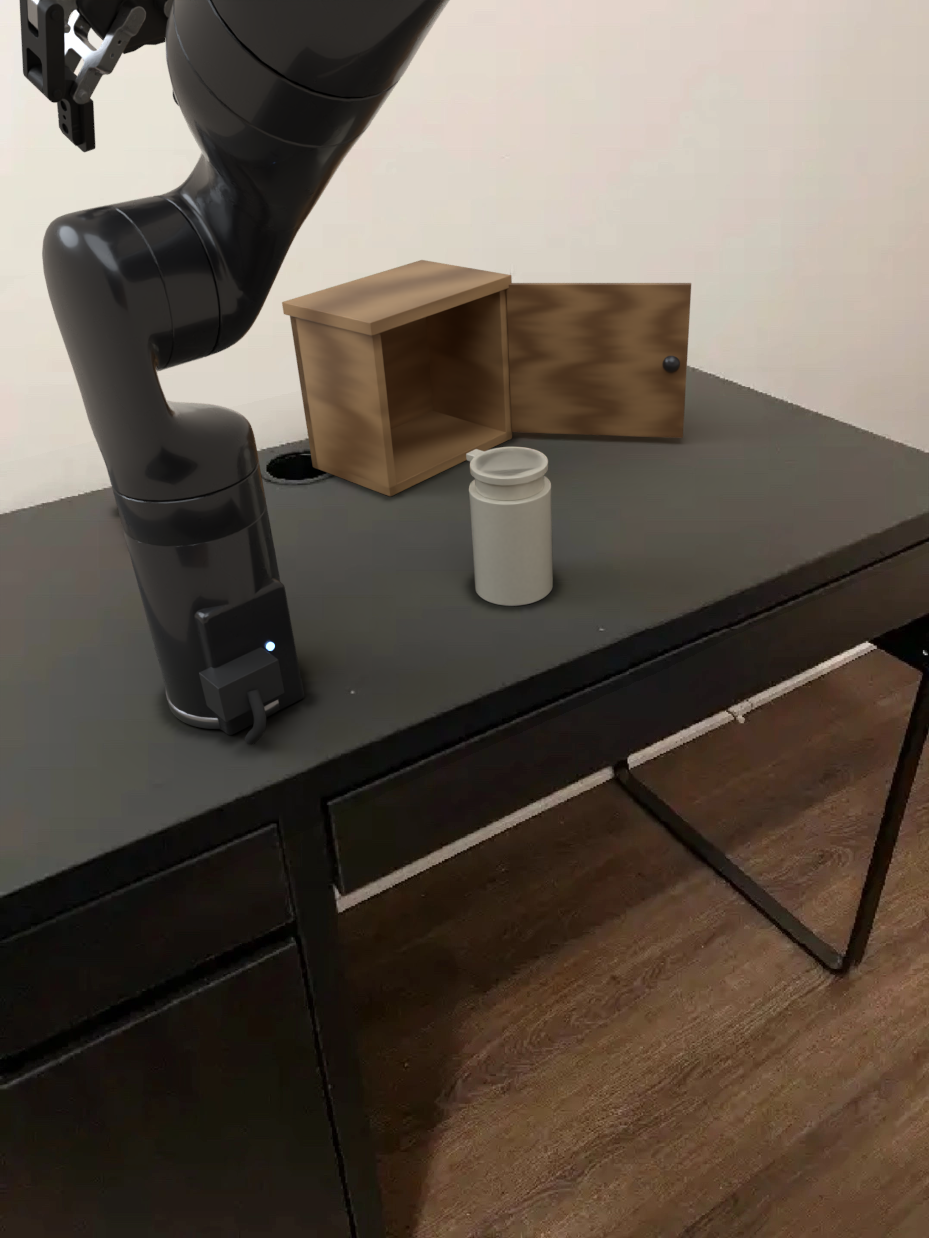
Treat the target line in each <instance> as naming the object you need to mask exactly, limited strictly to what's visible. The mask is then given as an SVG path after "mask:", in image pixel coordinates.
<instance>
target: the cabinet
mask: <svg viewBox="0 0 929 1238" xmlns="http://www.w3.org/2000/svg"><path fill="white" fill-rule="evenodd" d="M512 279H513V278H512V274H508V273H507V274H506V273H501V272H496V271H490V270H484V269H478V268H472V267H466V266H461V265H454V264H450V263H449V264H448V263H443V262H437V261H431V260H425V259H420V260H417V261H413V262H410V263H407V264H403V265H400V266H397V267H394V268H390V269H387V270H383V271H380V272H376V273H373V274H370V275H367V276H364V277H360V278H356V279H353V280H350V281H347V282H344V283H340V284H337V285H334V286H330V287H327V288H324V289H321V290H317V291H314V292H310V293H307V294H304V295H300V296H298V297H295V298H290V299H288V300H283V301H282V302H281V305H282V306H281V307H282V312H283V315H284V316H285V315H286V316H289V320H290V327H291V332H292V333H291V334H292V339H293V346H294V352H295V358H296V359H295V360H296V366H297V372H298V378H299V380H298V381H299V385H300V393H301V399H302V404H303V412H304V413H303V414H304V419H305V425H306V431H307V432H306V433H307V439H308V444H309V452H310V457H311V465H312V468H313V469H316V470H320V471H322V472H325V473H327V474H330V475H332V476H335V477H338V478H341V479H343V480H345V481H348V482H350V483H354V484H355V485H358V486H361V487H364V488H367V489H369V490H372V491H374V492H377V493H380V494H382V495H385V496H388V497H393V496H395V495H397V494H399V493H401V492H403V491H406V490H407V489H409V488H411V487H413V486H415V485H416V486H417V484H420V483H422V482H424V481H426V480H429V479H430V478H432V477H434V476H436V475H438V474H441V473H443V472H444V471H448V470H449V469H451V468H453V467H455V466H457V465H459V464H461V463H464V462H465V461H467V459H466V454H467V453H469V452H471V451H473V450H475V449H478V450H481V451H487V450H490V449H494V448H496V447H497V446H499V445H501V444H503V443H505V442H507V441H509V440H511V439H513V433H527V434H553V435H554V434H555V435H556V434H558V435H581V436H583V435H584V436H585V435H586V436H613V437H614V436H615V437H640V438H641V437H644V438H646V437H647V438H669V439H670V438H671V439H672V438H673V439H683V438H684V425H685V411H686V410H685V408H686V392H687V391H686V388H687V373H688V372H687V370H688V355H689V354H688V353H689V338H690V337H689V336H690V318H691V317H690V316H691V299H692V282H512V281H513V280H512Z"/></svg>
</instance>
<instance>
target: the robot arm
mask: <svg viewBox="0 0 929 1238" xmlns="http://www.w3.org/2000/svg"><path fill="white" fill-rule="evenodd" d="M450 1H451V0H19V17H20V18H19V20H20V35H21V36H20V39H21V56H22V57H21V58H22V60H21V61H22V75H23V77H25V78H26V79H27V80H28V81H29V82H30V83H31V84H32V85H33V87H35V88H36V89H37V90H38V91H39V92H40V93H41V94H42V95H43V96H44V97H45V98H46V99H47V100H48V101H50V102H51V103H53V104H56V107H57V118H58V128H59V130H60V132H61V134H62V135H64V137H66V138H67V139H68V140H69V141H70V142H71V143H72V144H73V145H74V146H75V147H77V148H78V149H79V150H80V151H81V152H83V153H87V152H91V151H93V150H96V128H95V126H96V125H95V107H94V100H93V99H92V98H91V97H92V95H93V93H94V92H95V90H96V88H97V86H98V85H99V83H100V81H101V79H102V78H103V76H109V75H111V74H112V73H113V71H114V70H115V68H116V66H117V64H118V62H119V61H120V59H121V58H122V57H121V56H122V55H126V54H129V53H133V52H136V51H137V50H139V49H141V48H142V47H144V46H157V45H160V44H163V43H165V60H166V62H165V63H166V67H167V71H168V75H169V78H170V79H169V80H170V84H171V88H172V99H173V101H174V102H175V104H176V105H177V106H178V107H179V110H180V112H181V114H182V116H183V118H184V121H185V123H186V125H187V128H188V130H189V132H190V133H191V135H192V137H193V139H194V141H195V143H196V145H197V146H198V148H199V150H200V151H201V153H200V155H199V158H198V160H197V162H196V163H195V165H194V167H193V169H192V171H191V172H190V174H189V175H188V176H187V178H186V179H185V180H184V182H182V183H181V184H179V185H178V186H177V187H176V188H174V189H171V190H170V191H167V192H165V193H162V194H156V195H153V196H146V197H140V198H136V199H131V200H125V201H120V202H116V203H110V204H105V205H101V206H100V205H99V206H95V207H90V208H86V209H82V210H77V211H72V212H68V213H66V214H65V213H64V214H62V215H60V216H58V217H56V218H55V219H53V220H52V221H51V222H50V223H49V225H48V226H47V228H46V230H45V232H44V235H43V240H42V249H41V259H42V269H43V275H44V280H45V284H46V289H47V294H48V298H49V301H50V305H51V307H52V308H51V309H52V311H53V314H54V318H55V321H56V323H57V326H58V329H59V332H60V335H61V338H62V342H63V344H64V347H65V350H66V352H67V356H68V359H69V361H70V364H71V367H72V370H73V374H74V377H75V380H76V383H77V386H78V390H79V392H80V395H81V399H82V403H83V406H84V410H85V413H86V417H87V420H88V424H89V425H90V429H91V431H92V434H93V437H94V439H95V442H96V444H97V447H98V449H99V452H100V454H101V456H102V459H103V462H104V465H105V467H106V471H107V475H108V478H109V482H110V485H111V489H112V491H113V492H112V493H113V497H114V500H115V504H116V507H117V508H116V509H117V511H118V515H119V518H120V522H121V526H122V530H123V534H124V539H125V542H126V544H127V549H128V554H129V557H130V561H131V564H132V568H133V572H134V577H135V579H136V584H137V587H138V591H139V593H140V594H139V595H140V598H141V602H142V606H143V609H144V613H145V617H146V622H147V624H148V628H149V633H150V636H151V641H152V643H153V648H154V651H155V655H156V658H157V662H158V664H159V668H160V673H161V676H162V679H163V683H164V687H165V695H166V701H167V704H168V708H169V710H170V712H171V713H172V715H173V716H174V717H175V718H177V719H178V720H179V721H181V722H182V723H184V724H187V725H190V726H192V727H196V728H200V729H201V728H202V729H208V730H209V729H210V730H220V731H223V732H224V734H226V735H228V736H233V735H234V734H235V735H236V734H237V733H239V732H241V731H243V730H245V729H246V728H248V727H250V726H252V728H251V729H250V730H249V731H248V732H247V734H245V737H244V741H245V742H246V744H248V745H251V746H252V745H256V743H257V741H258V740H260V739H261V738H262V736H263V735H264V733H265V732H266V729H267V718H268V717H270V716H272V715H274V714H276V713H277V712H279V711H281V710H283V709H285V708H287V707H289V706H291V705H292V704H295V703H296V702H299V701H300V700H303V699H304V698H305V692H304V686H303V682H302V676H301V671H300V664H299V659H298V654H297V649H296V648H297V647H296V641H295V638H294V637H295V636H294V631H293V626H292V620H291V615H290V609H289V603H288V599H287V592H286V587H285V584H284V583H282V582H281V576H280V571H279V566H278V560H277V554H276V549H275V544H274V539H273V532H272V527H271V522H270V516H269V511H268V505H267V498H266V494H265V493H266V492H265V488H264V482H263V477H262V471H261V465H260V460H259V459H260V458H259V453H258V448H257V443H256V437H255V432H254V429H253V427H252V424H251V423H250V421H249V419H247V417H246V416H244V415H243V414H242V413H240V412H239V411H236V410H234V409H232V408H229V407H226V406H222V405H218V404H217V405H216V404H212V403H204V402H203V403H202V402H189V401H188V402H187V401H186V402H185V401H174V400H173V401H172V400H167V397H166V396H165V393H164V390H163V387H162V385H161V381H160V378H159V375H158V373H159V372H161V371H164V370H167V369H171V368H174V367H178V366H181V365H184V364H188V363H191V362H194V361H197V360H201V359H203V358H207V357H210V356H213V355H215V354H218V353H221V352H223V351H225V350H227V349H229V348H230V347H232V346H234V345H236V344H237V343H239V341H241V340H242V339H243V338H244V337H245V336H246V335H247V334H248V333H249V331H250V330H251V328H252V327H253V325H254V324H255V322H256V320H257V318H258V317H259V315H260V313H261V311H262V309H263V307H264V305H265V303H266V300H267V298H268V296H269V294H270V292H271V289H272V288H273V284H274V283H275V281H276V278H277V276H278V274H279V272H280V270H281V268H282V265H283V263H284V261H285V259H286V257H287V254H288V253H289V250H290V249H291V247H292V244H293V242H294V240H295V238H296V237H297V235H298V233H299V231H300V229H301V228H302V226H303V224H304V223H305V222H306V220H307V218H308V217H309V215H310V214H311V213H312V211H313V209H314V207H315V206H316V205H317V203H318V201H319V200H320V198H321V197H322V195H323V193H324V192H325V190H326V189H327V187H328V185H329V183H330V182H331V181H332V179H333V178H334V176H335V174H336V172H337V171H338V169H340V167H341V165H342V163H343V161H344V160H345V158H346V157H347V156H348V155H349V153H350V152H351V150H352V149H353V148H354V146H355V145H356V144H357V142H358V141H359V140H360V138H361V137H362V136H363V135H364V133H366V131H367V129H368V128H369V127H370V125H371V124H372V123H373V120H375V118H376V116H377V114H378V113H379V111H380V110H381V109H382V107H383V105H384V104H385V102H386V101H387V100H388V99H389V97H390V95H391V93H392V92H393V91H394V89H395V87H396V86H397V84H398V83H399V82H400V80H401V78H402V77H403V76H404V74H405V73H406V71H407V70H408V68H409V67H410V65H411V63H412V61H413V60H414V58H415V57H416V55H417V53H418V51H419V49H420V48H421V46H422V45H423V43H424V41H425V39H426V38H427V36H428V35H429V33H430V31H431V30H432V28H433V26H434V25H435V24H436V22H437V20H438V19H439V17H440V16H441V15H442V13H443V11H444V10H445V8H446V7H447V6H448V4H449V2H450ZM90 30H92V31H93V32H94V34H95V35H96V36H98V38H99V39H101V40H102V42H101V44H100V46H99V48H96V47H95V46H94V45H93V44H92V43H91V42H90V41H89V32H90ZM81 60H83V65H82V66H81V68H80V70H79V72H78V74H76V73H75V72H76V70H77V68H78V66H79V64H80V62H81Z"/></svg>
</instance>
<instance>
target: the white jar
mask: <svg viewBox="0 0 929 1238" xmlns="http://www.w3.org/2000/svg"><path fill="white" fill-rule="evenodd" d="M466 459H467V460H466V461H468V462H469V472H470V475H471V476H472V477H473V478H474V479H473V480H472V481H471V482H470V483H469V486H468V499H469V502H468V503H469V516H470V531H471V546H472V561H473V576H474V577H473V579H474V589H475V592H476V594H477V595H478V597H480V598H481V599H483V600H484V601H486V602H489V603H491V604H495V605H499V606H506V607H514V606H515V607H517V606H526V605H529V604H533V603H536V602H539V601H541V600H543V599H545V597H547V596H548V595H549V594H550V593H551V591H552V590H553V587H554V561H553V559H554V557H553V511H552V509H553V506H552V504H553V503H552V502H553V501H552V482H551V481H550V478H548V477H547V476H545V475H546V474H547V472H548V470H549V459H548V457H547V456H546V454H544V453H543V452H542V451H539V450H538V449H534V448H530V447H524V446H503V447H502V446H501V447H494V448H491V449H488V450H486V451H481V450H478V449H475V450H473V451H471V452H469V453H467V454H466Z"/></svg>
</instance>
